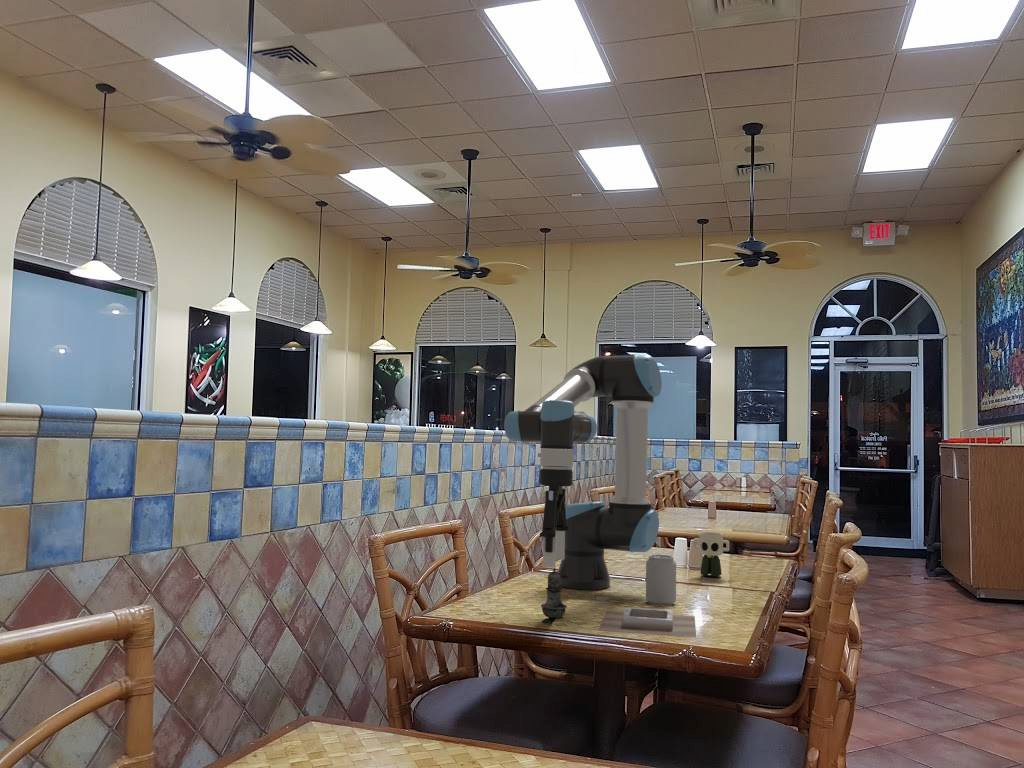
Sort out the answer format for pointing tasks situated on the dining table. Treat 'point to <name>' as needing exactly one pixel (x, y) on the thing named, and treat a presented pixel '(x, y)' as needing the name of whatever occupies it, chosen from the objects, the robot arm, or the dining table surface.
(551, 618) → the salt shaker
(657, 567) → the can
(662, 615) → the steel collar
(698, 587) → the dining table surface
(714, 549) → the character mug
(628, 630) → the walnut plate
